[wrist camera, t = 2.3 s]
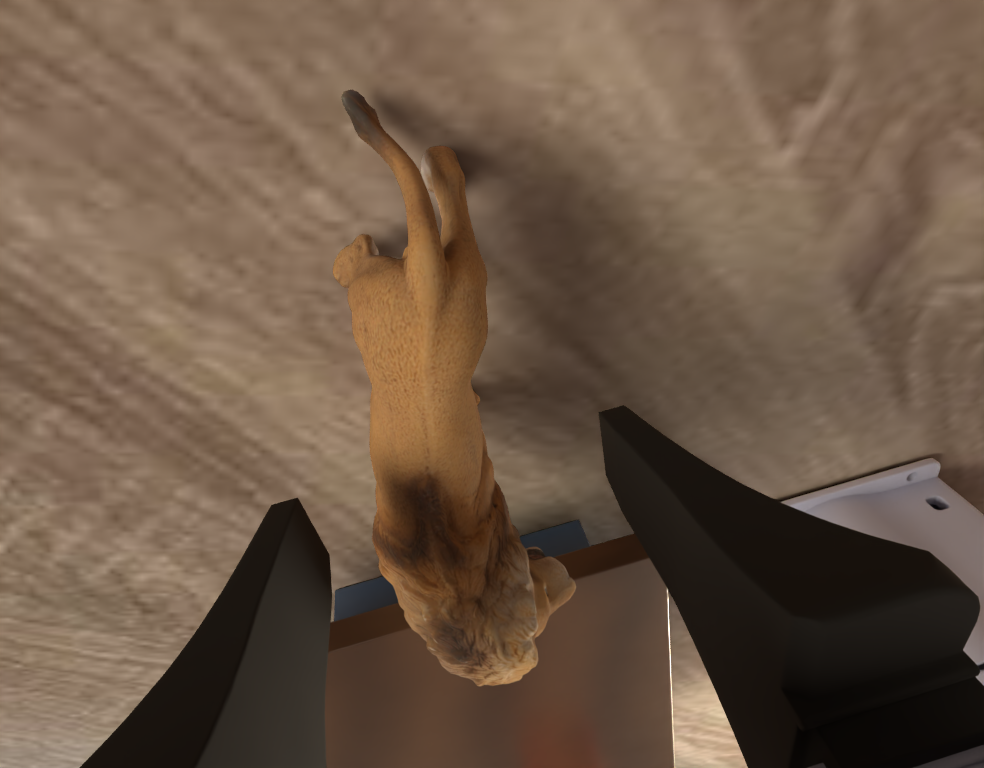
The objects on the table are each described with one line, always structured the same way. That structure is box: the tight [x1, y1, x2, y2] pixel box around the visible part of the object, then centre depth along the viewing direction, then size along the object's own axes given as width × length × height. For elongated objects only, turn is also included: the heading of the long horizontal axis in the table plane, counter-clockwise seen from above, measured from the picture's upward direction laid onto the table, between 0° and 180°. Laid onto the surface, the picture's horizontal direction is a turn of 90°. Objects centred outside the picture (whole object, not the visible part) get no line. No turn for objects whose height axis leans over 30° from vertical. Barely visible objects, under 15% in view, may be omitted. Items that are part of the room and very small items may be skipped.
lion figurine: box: [333, 90, 576, 686], centre depth 16 cm, size 15×5×9 cm, turn 11°
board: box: [325, 533, 674, 768], centre depth 26 cm, size 15×18×1 cm
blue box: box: [334, 520, 590, 621], centre depth 28 cm, size 11×13×4 cm
